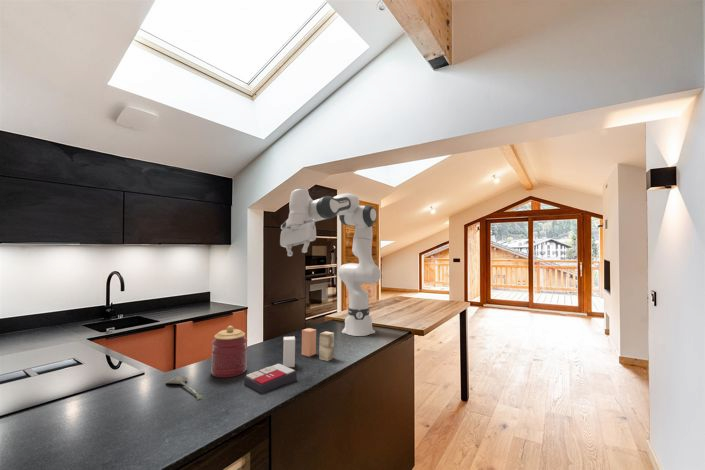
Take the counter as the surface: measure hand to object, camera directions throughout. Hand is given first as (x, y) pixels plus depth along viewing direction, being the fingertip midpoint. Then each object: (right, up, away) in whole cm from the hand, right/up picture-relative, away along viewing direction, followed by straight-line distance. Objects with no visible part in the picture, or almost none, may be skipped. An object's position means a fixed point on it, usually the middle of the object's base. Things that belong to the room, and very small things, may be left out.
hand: (297, 254), depth 141 cm
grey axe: (-33, -45, -28) cm, 63 cm away
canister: (-24, -45, -13) cm, 53 cm away
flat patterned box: (-6, -45, -22) cm, 51 cm away
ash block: (+12, -46, +3) cm, 47 cm away
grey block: (-3, -45, -5) cm, 46 cm away
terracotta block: (+4, -46, +9) cm, 47 cm away
